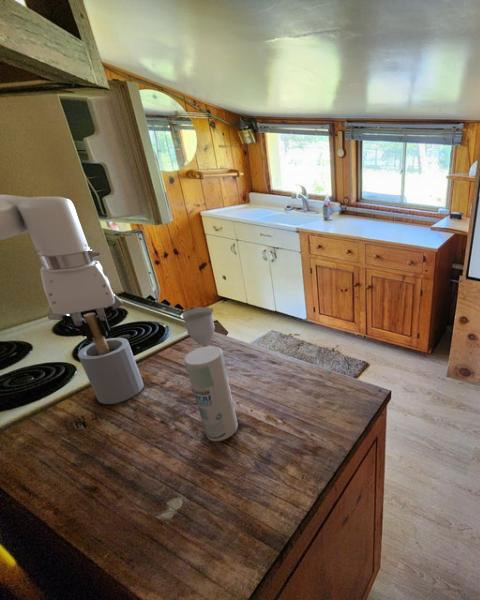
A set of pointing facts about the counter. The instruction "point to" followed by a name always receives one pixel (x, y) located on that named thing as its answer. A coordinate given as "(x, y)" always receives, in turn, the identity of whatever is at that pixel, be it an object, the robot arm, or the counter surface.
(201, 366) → the spray can
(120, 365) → the cup
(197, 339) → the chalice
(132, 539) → the counter surface
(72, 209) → the robot arm
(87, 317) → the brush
